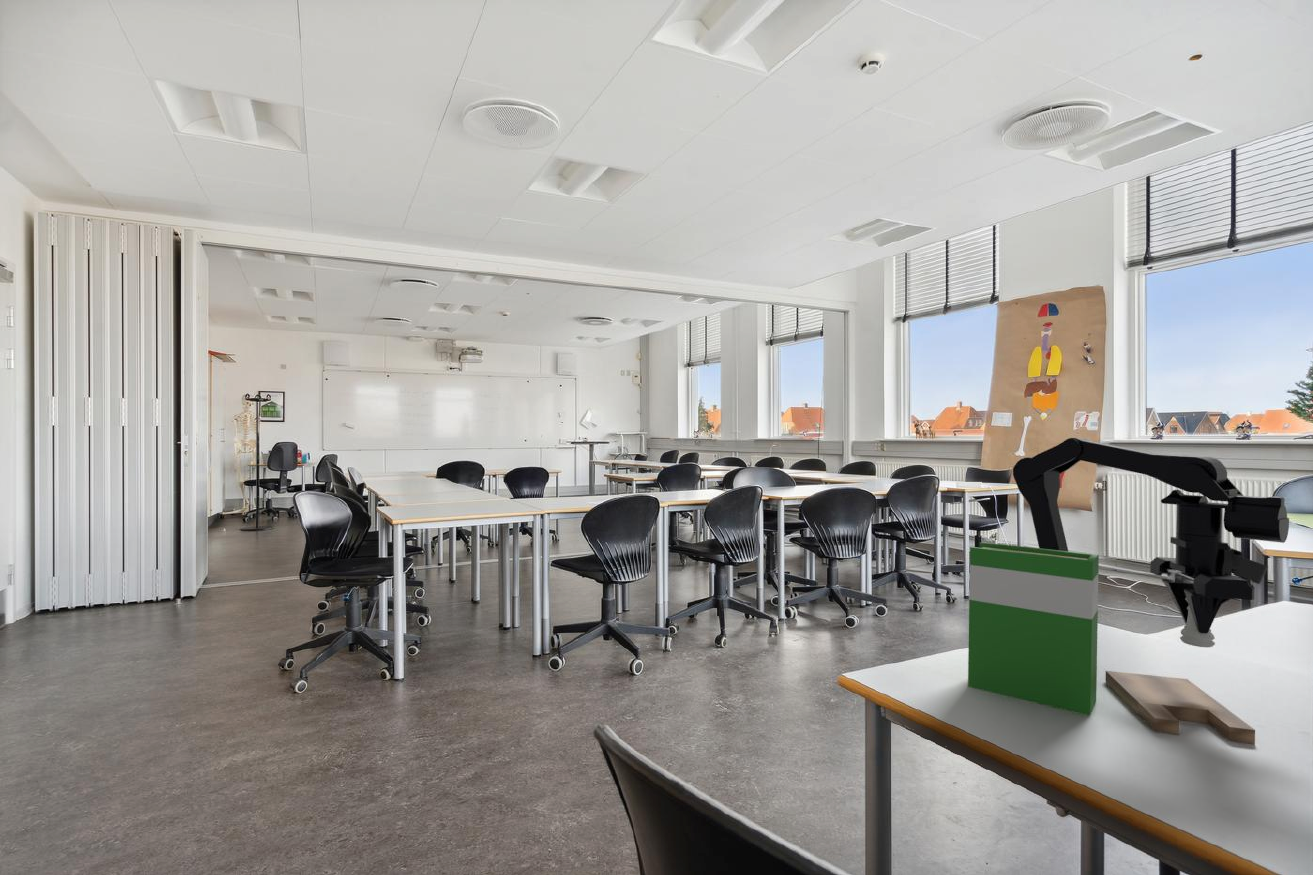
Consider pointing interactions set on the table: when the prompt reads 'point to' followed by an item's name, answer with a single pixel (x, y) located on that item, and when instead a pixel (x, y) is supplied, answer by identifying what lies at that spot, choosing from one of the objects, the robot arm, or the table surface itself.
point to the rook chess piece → (1195, 633)
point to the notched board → (1176, 705)
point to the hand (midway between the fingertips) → (1196, 629)
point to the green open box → (1034, 625)
